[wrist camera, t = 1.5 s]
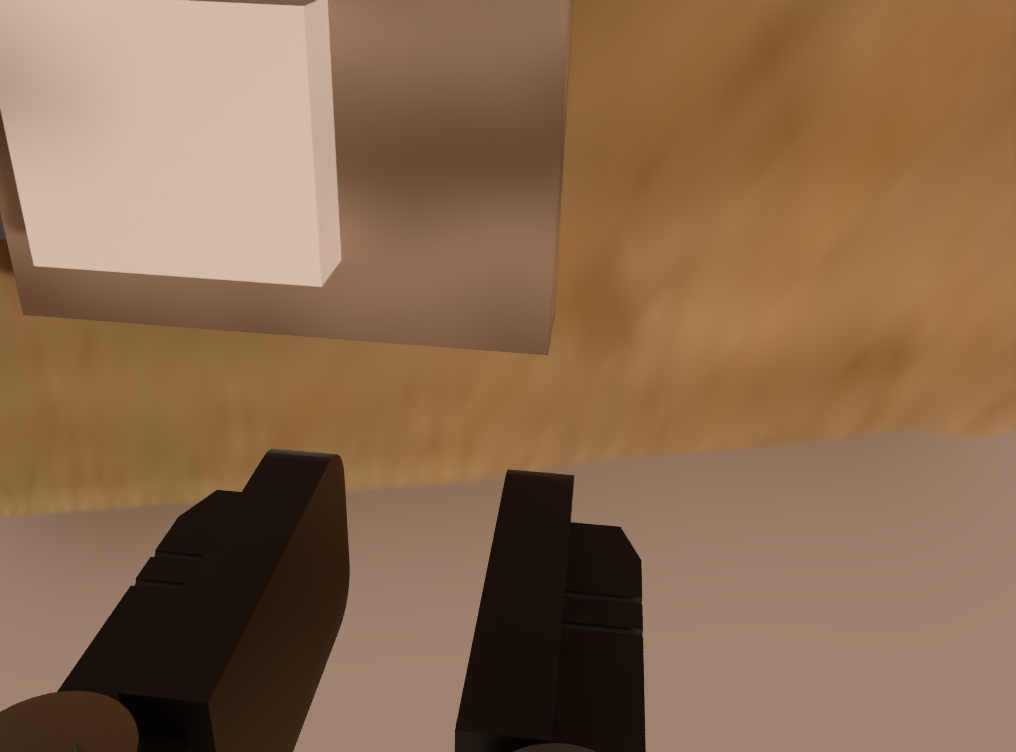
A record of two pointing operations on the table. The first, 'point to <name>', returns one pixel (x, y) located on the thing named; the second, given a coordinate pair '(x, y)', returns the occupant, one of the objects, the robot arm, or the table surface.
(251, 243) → the tile
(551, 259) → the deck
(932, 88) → the table surface
